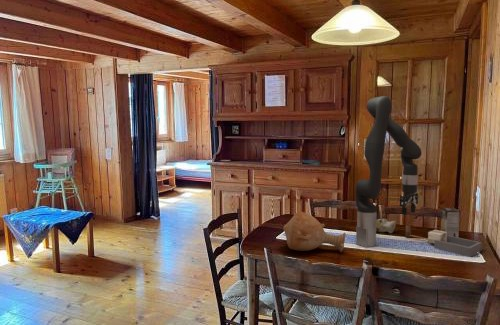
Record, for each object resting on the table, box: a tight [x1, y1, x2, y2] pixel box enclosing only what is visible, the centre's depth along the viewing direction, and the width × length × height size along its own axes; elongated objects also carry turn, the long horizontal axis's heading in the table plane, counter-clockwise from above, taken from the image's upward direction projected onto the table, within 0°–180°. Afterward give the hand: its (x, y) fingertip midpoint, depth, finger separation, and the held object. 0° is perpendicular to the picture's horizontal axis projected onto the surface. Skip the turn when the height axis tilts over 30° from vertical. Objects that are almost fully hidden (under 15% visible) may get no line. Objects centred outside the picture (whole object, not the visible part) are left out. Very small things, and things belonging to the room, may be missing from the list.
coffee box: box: [440, 206, 461, 238], centre depth 192 cm, size 9×6×16 cm
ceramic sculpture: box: [376, 217, 397, 234], centre depth 208 cm, size 11×9×15 cm
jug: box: [282, 211, 347, 253], centre depth 179 cm, size 20×19×30 cm
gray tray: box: [433, 235, 483, 258], centre depth 176 cm, size 13×16×4 cm
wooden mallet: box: [404, 225, 447, 244], centre depth 189 cm, size 7×20×6 cm, turn 38°
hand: (408, 213), depth 195 cm, fingers open, 8 cm apart
